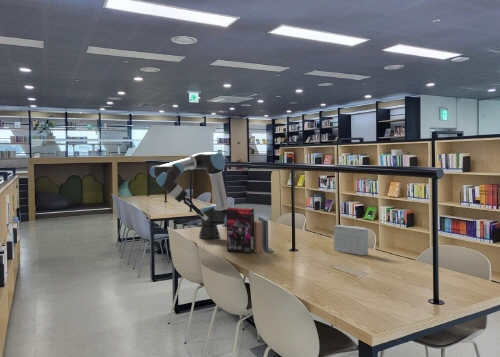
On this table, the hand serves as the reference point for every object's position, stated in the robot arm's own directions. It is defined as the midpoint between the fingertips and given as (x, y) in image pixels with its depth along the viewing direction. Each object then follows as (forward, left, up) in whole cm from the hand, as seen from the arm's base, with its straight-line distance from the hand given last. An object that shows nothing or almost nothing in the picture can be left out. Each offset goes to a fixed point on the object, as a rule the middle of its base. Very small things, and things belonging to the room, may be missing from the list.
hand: (206, 219), depth 243 cm
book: (0, +32, -22) cm, 38 cm away
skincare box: (+24, +85, -22) cm, 91 cm away
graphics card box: (-1, +21, -22) cm, 31 cm away
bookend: (0, +38, -22) cm, 44 cm away
